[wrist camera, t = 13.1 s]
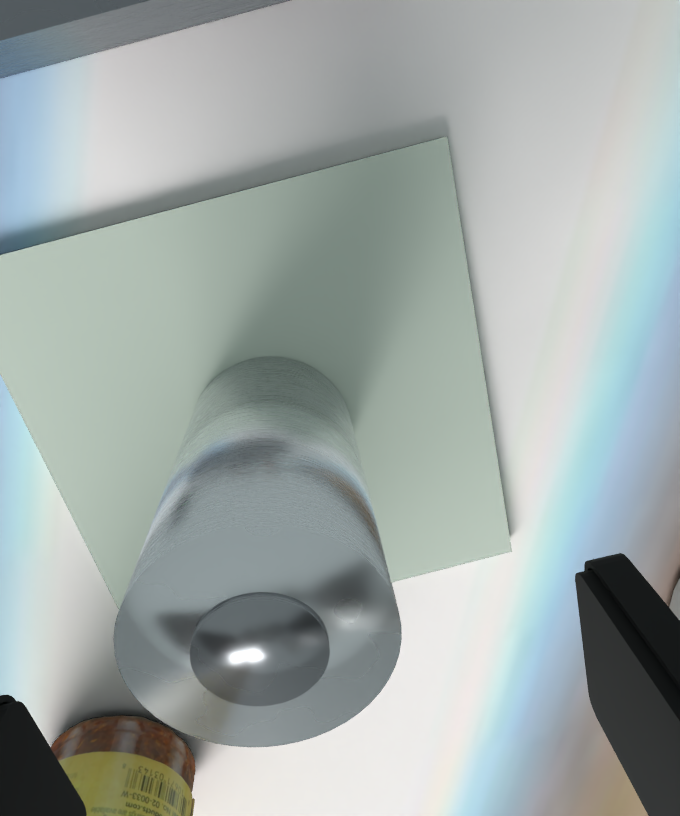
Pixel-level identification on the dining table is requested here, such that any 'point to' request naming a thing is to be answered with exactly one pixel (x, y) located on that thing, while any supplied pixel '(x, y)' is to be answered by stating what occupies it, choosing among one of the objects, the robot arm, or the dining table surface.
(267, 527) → the aluminium plug
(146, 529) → the sage mat
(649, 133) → the dining table surface
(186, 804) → the sauce bottle
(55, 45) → the plate
